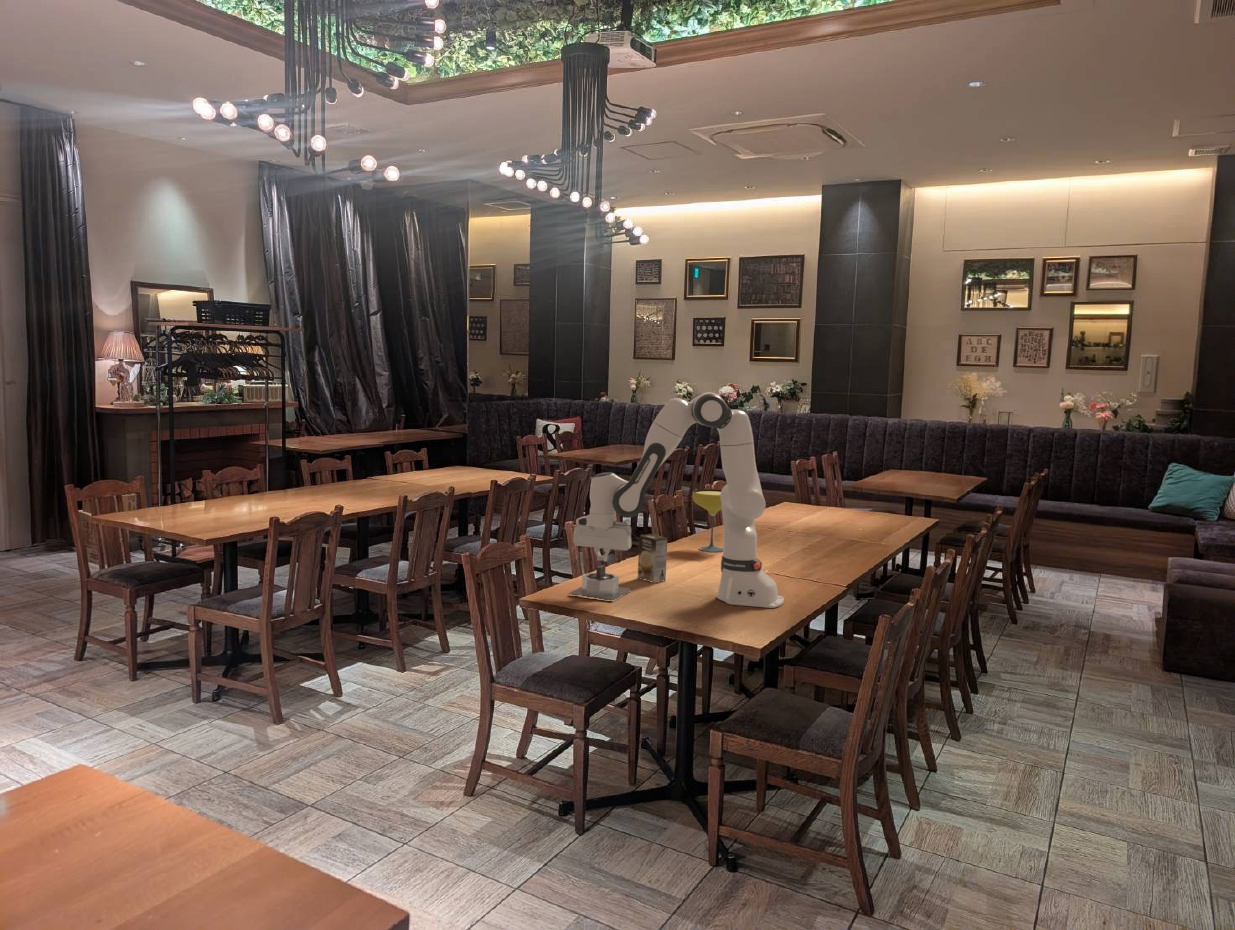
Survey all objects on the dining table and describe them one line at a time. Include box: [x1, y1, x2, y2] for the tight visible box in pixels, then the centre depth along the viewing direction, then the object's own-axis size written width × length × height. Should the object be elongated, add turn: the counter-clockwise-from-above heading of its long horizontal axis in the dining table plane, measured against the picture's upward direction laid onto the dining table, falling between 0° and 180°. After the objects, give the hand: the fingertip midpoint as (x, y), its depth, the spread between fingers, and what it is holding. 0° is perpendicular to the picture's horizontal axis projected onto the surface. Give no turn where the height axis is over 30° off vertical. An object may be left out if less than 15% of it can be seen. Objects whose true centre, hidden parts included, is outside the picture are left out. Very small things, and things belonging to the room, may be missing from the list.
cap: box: [592, 564, 610, 580], centre depth 296 cm, size 6×6×5 cm
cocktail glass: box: [691, 488, 723, 553], centre depth 375 cm, size 18×18×25 cm
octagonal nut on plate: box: [568, 572, 632, 600], centre depth 296 cm, size 16×16×6 cm
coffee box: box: [637, 533, 668, 583], centre depth 318 cm, size 9×6×16 cm
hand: (602, 560), depth 295 cm, fingers closed
